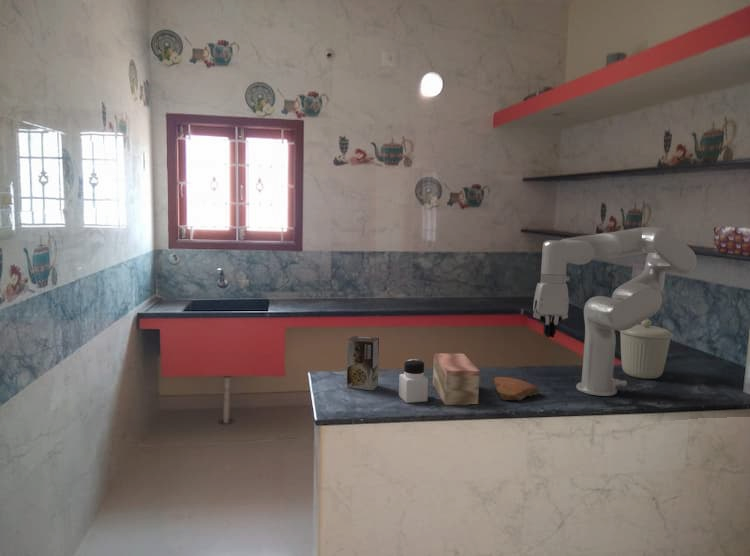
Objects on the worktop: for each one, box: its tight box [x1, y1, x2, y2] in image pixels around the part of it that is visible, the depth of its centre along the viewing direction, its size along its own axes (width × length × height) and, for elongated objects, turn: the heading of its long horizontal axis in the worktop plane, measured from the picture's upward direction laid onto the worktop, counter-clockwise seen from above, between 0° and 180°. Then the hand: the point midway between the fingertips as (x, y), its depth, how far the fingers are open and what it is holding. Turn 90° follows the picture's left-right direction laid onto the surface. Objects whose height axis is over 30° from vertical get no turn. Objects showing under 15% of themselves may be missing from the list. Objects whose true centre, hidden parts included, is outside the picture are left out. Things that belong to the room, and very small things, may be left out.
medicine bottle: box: [398, 358, 430, 404], centre depth 176 cm, size 7×7×12 cm
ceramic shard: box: [493, 376, 540, 401], centre depth 184 cm, size 15×6×15 cm
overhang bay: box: [432, 352, 481, 406], centre depth 182 cm, size 10×21×10 cm, turn 5°
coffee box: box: [346, 335, 380, 391], centre depth 187 cm, size 9×6×16 cm
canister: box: [619, 318, 674, 380], centre depth 210 cm, size 18×18×21 cm
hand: (549, 336), depth 183 cm, fingers closed
